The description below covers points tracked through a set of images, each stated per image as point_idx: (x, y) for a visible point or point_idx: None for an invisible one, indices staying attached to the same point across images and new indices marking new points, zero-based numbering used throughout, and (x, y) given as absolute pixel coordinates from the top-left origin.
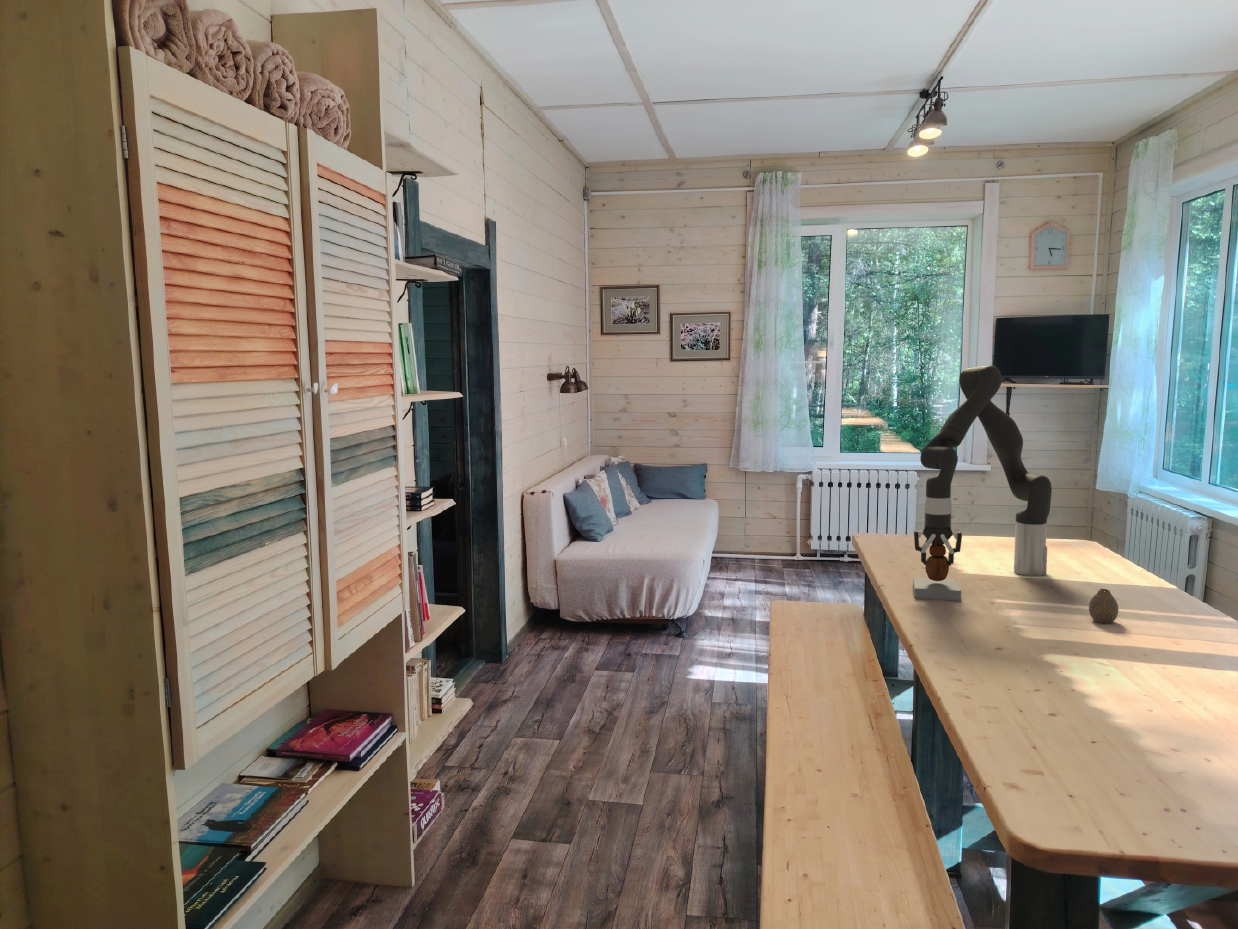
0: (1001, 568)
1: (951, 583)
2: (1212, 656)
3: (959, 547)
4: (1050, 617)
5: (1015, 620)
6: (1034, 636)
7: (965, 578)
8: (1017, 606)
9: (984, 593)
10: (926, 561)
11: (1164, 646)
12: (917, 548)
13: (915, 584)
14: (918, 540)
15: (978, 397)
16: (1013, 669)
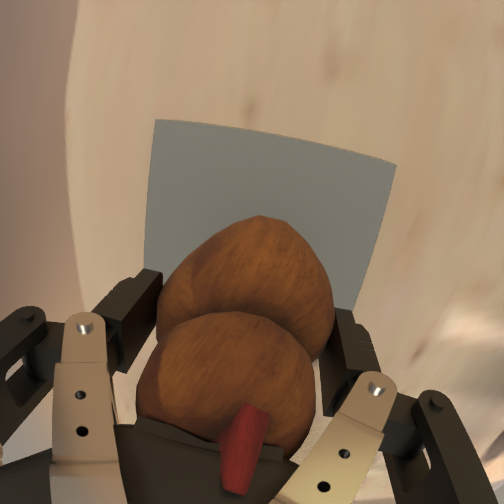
0: None
1: (337, 248)
2: (498, 484)
3: (411, 472)
4: (465, 427)
5: None
6: (358, 496)
7: (454, 2)
8: (463, 372)
9: (459, 237)
10: (156, 322)
11: (488, 478)
12: (44, 381)
13: (148, 265)
14: (11, 434)
15: None
16: None
